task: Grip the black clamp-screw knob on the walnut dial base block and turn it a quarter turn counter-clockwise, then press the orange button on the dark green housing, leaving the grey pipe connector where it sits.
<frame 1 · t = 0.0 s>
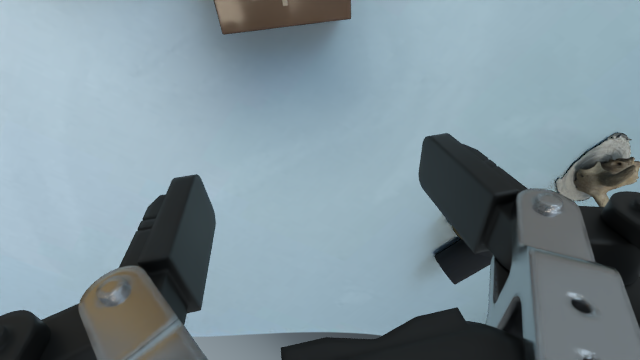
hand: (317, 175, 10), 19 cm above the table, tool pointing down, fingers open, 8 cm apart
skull: (591, 170, 43), on the table
pipe connector: (469, 221, 44), on the table
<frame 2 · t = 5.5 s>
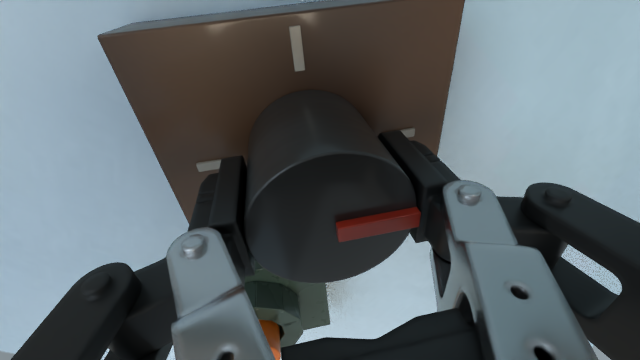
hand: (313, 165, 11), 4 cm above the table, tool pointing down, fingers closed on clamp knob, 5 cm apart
button: (253, 345, 17), point 4 cm above the table, slide at 0.1 cm
dial base block: (300, 120, 14), on the table
button box: (254, 282, 21), on the table
clamp knob: (320, 183, 10), point 6 cm above the table, hinge at 0.0°, touching gripper
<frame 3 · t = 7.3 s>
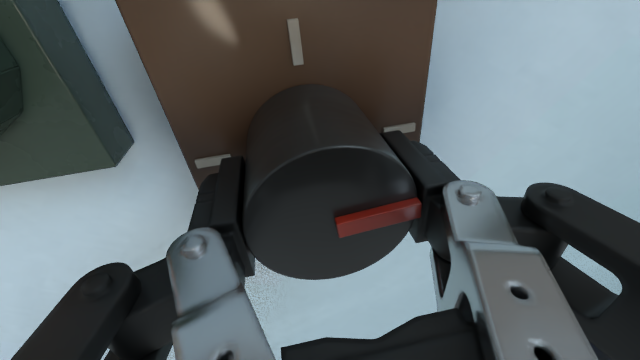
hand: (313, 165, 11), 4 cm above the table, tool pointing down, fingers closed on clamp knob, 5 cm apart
dial base block: (300, 115, 14), on the table
clamp knob: (319, 179, 10), point 6 cm above the table, hinge at 94.2°, touching gripper
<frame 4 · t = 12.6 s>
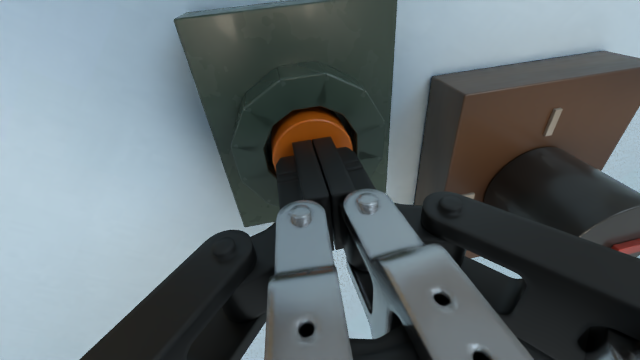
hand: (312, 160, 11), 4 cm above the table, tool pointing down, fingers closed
button: (310, 147, 12), point 4 cm above the table, slide at -0.9 cm, touching gripper
dial base block: (490, 158, 19), on the table
button box: (300, 114, 15), on the table
clamp knob: (564, 215, 14), point 6 cm above the table, hinge at 93.8°
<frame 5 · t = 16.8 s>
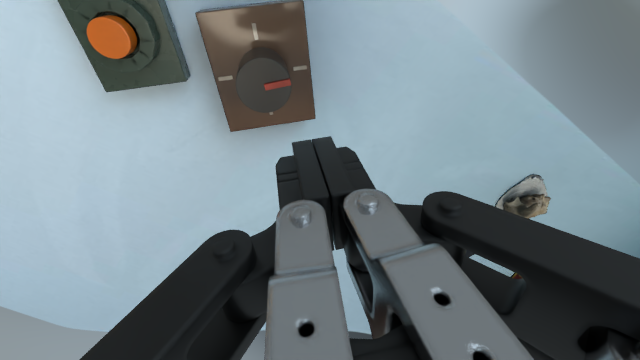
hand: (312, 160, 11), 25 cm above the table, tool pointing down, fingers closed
button: (113, 37, 25), point 4 cm above the table, slide at 0.1 cm
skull: (517, 201, 54), on the table
dial base block: (262, 65, 32), on the table
button box: (131, 29, 28), on the table
clamp knob: (263, 79, 28), point 6 cm above the table, hinge at 93.8°
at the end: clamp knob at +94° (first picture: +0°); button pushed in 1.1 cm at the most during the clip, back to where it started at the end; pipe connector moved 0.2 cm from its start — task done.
